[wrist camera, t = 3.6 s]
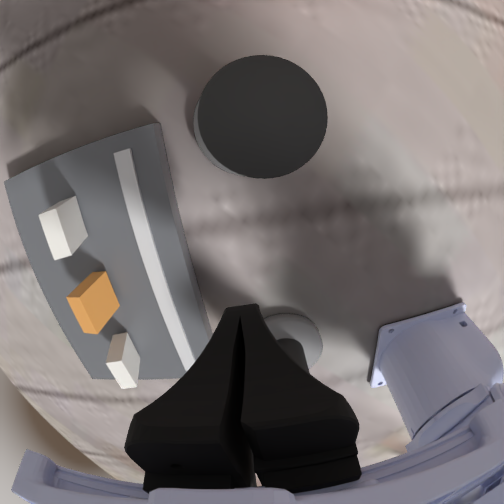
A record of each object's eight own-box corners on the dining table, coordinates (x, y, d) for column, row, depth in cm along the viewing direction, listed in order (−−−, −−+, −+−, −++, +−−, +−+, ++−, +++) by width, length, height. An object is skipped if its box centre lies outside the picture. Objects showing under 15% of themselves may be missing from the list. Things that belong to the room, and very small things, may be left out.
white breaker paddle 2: (127, 332, 19) (121, 360, 16) (140, 358, 20) (137, 386, 17) (112, 334, 19) (105, 363, 16) (126, 360, 20) (122, 388, 17)
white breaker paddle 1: (75, 195, 15) (55, 208, 12) (88, 236, 16) (71, 255, 13) (59, 201, 14) (38, 214, 12) (72, 240, 16) (54, 260, 13)
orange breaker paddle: (105, 271, 16) (79, 297, 14) (119, 305, 18) (97, 334, 15) (92, 272, 17) (66, 297, 14) (106, 305, 18) (84, 332, 15)
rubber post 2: (319, 307, 21) (361, 421, 11) (320, 362, 23) (348, 465, 14) (236, 320, 21) (237, 443, 12) (249, 374, 23) (255, 480, 14)
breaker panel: (160, 123, 15) (151, 123, 13) (221, 361, 22) (220, 377, 21) (16, 176, 15) (2, 182, 14) (97, 367, 23) (91, 380, 21)
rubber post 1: (294, 67, 14) (362, 3, 5) (308, 166, 16) (388, 220, 7) (188, 83, 14) (121, 33, 5) (206, 181, 17) (166, 254, 7)
